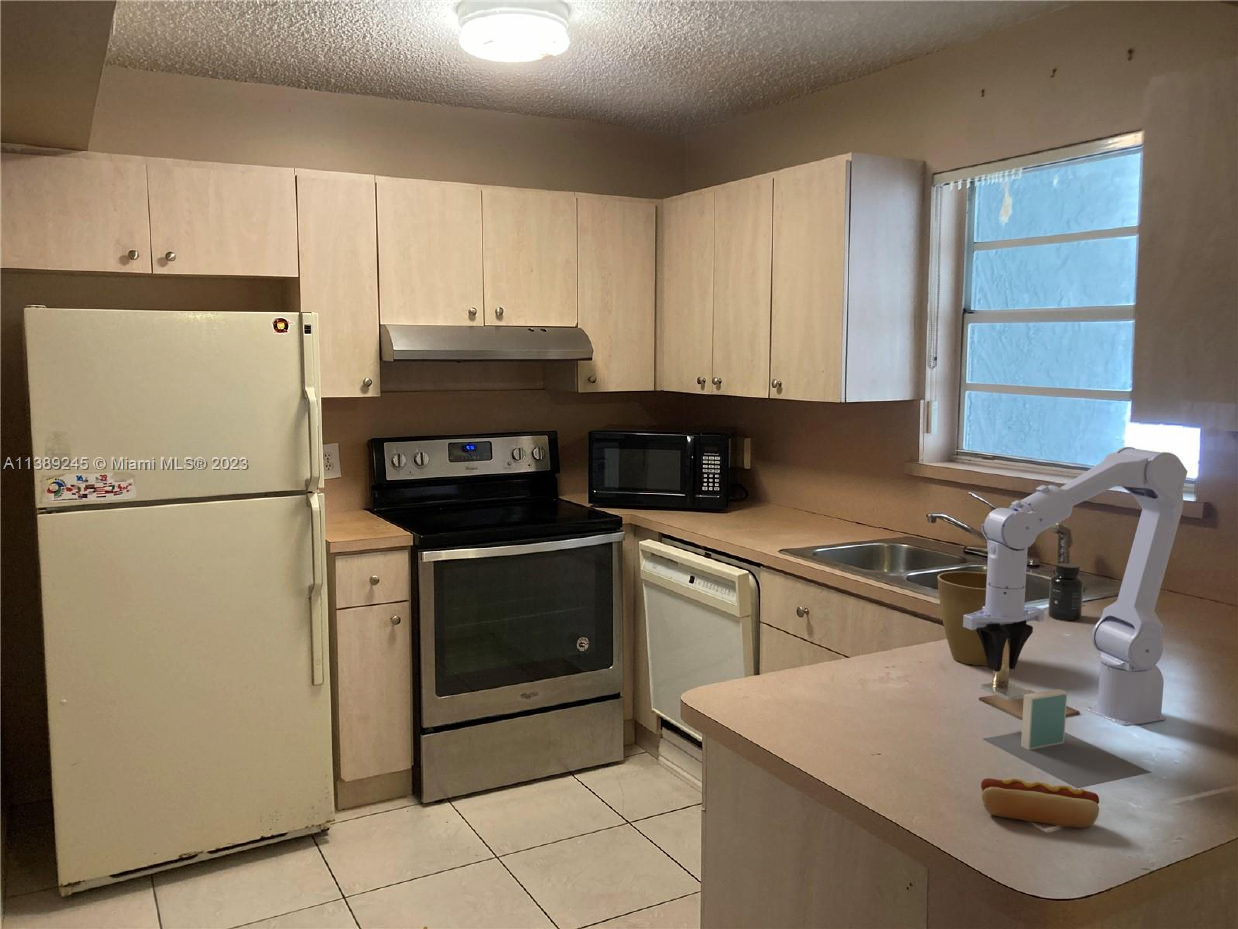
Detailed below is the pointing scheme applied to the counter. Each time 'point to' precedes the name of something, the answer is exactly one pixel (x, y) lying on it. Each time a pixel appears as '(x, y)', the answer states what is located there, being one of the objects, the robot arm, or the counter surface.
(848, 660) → the counter surface
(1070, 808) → the food
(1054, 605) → the supplement bottle
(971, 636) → the plant pot
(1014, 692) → the stamp with brass handle
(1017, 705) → the board
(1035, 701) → the tile
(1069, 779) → the mat
